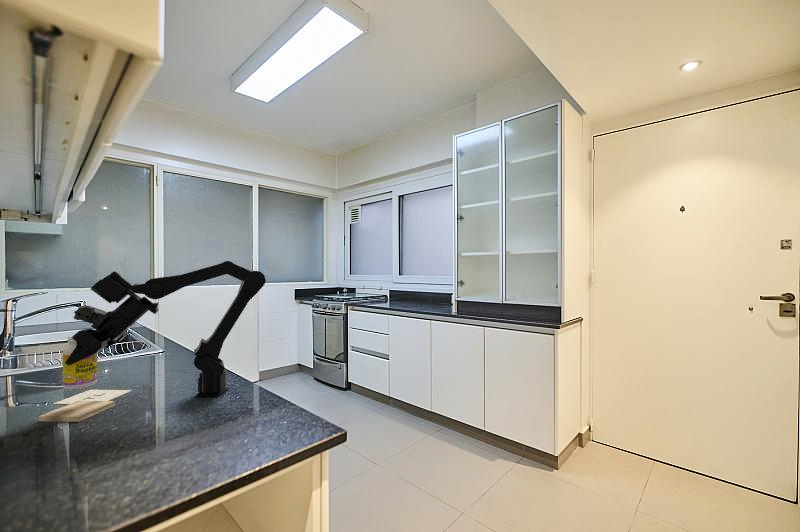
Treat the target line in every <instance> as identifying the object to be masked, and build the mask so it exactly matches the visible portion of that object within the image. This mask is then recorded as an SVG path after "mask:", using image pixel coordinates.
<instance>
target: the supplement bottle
mask: <svg viewBox="0 0 800 532" xmlns="http://www.w3.org/2000/svg"><path fill="white" fill-rule="evenodd" d="M74 335H75V334H72V335H69V336H68V337H67V342H68V346H66V347H64V349H63V350H62V387H63V388H64V389H66V390H78V389H84V388H87V387H90V386H93V385H95V384H96V383H98V371H99V370H98V360H99V359H98V353H99V352H98V353H96V354H94V355H91V356H89V357H87V358H85V359H82V360H80V361H78V362H76V363H73V364H71V365H67V364H65V362H66V360H67V359H68V358H69V356H70V355H71V353H72V352H73V350H74V349H75V347H76V346H77V343H76V341H75V340H74V339H73V338H72V336H74Z"/></svg>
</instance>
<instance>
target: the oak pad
mask: <svg viewBox="0 0 800 532" xmlns="http://www.w3.org/2000/svg"><path fill="white" fill-rule="evenodd" d="M115 404H116V403H115V401H114V400H110V401H77V402H74V403H71V404H65V405H63V406H62V407H58V408H57V409H54V410H51V411H49V412H47V413H44V414H42V415H39V416H38V422H55V423H56V422H57V423H58V422H59V423H60V422H61V423H62V422H65V423H69V422H71V423H72V422H73V423H74V422H76V423H77V422H79V423H80V422H82V421H84V420H86V419H89V418H91V417H93V416H96V415H97V414H100V413H101V412H103V411H106V410H108V409H110V408H112V407H115Z"/></svg>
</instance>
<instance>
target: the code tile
mask: <svg viewBox="0 0 800 532" xmlns="http://www.w3.org/2000/svg"><path fill="white" fill-rule="evenodd" d="M132 391H133V389H89V390H86V391H83V392H80V393H78V394H75V395H72V396H70V397H67V398H65V399H61V400H58V401H57V402H53V404H52V405H69V404H71V403H74V402H77V401H113V400H114V399H117V398H119V397H121V396H123V395H126V394H128V393H131V392H132Z"/></svg>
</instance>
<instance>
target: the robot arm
mask: <svg viewBox="0 0 800 532" xmlns="http://www.w3.org/2000/svg"><path fill="white" fill-rule="evenodd" d="M226 275H228V276H231V277H232V278H235V279H236V280H239V281H241V283H240V285H239V288H238V291H237V294H236V296H235V297H234V299H233V300H232V302H231V304H230V305H229V307H228V309H227V310H226V312H225V313H224V315H223V316H222V318H221V320H220V321H219V323H218V324H217V326H216V328H215V329H214V330H213V332H212V334H211V335H210V336H209V337H208V338H207V339H204V338H201V339H200V341H199V344H198V346H197V347H195V349H193V364H194V367H195V368H196V369H197V370H199V371H201V372H199V375H198V379H197V392H198V393H196V394H195V397H203V398H204V397H206V398H207V397H214V398H215V397H219V396H220V395H222V394H224V393H225V392H227V391H228V390H229V387H227V385H226V384H227V382H226V381H227V380H226V379H227V378H226V377H227V371H226V370H225V368H226V367H225V364H224V360H222V359H221V358H220V357H219V356H220V354H221V351H222V347H223V345H224V342H225V341H226V339H227V338H228V336H229V334H230V333H231V331H232V329H233V328H234V326H235V324H236V323H237V322H238V319H239V318H240V316H241V315H242V313H243V312H244V310H245V308H246V307H247V305H248V303H249V302H250V301H251V300H252V299H253V298H254V297H255V296H256V295H257V294H258V293H259V291H260V290H261V289H262V288H263V287H264V286H265V285H266V276H265V274H264V273H263V272H262V271H258V270H249V269H247V268H245V267H243V266H241V265H238V264H235V263H234V262H233V261H231V260H225V261H223V262H221V263H217V264H215V265H211V266H207V267H204V268H200V269H196V270H193V271H190V272H186V273H183V274H177V275H170V276H163V277H162V276H160V277H154V278H150V279H148V280H146V281H145V283H141V284H140V283H134V284H132V283H131V282H129V281H128V280H127V279H125V278H124V277H123V276H122V275H121V274H120V273H118V271H112V272H111V273H110V274H108V275H107V276H105V277H103V278H102V279H99V280H98V281H97V282H96V283H94V284H93V285H92V286H91V287H90V291H92V292H93V293H95V294H96V295H97V296H99V297H100V298H102V299H103V300H105V301H106V302H107V303H109V304H112V303H116V304H119V303H120V302H121V301H122V300H124V299H125V300H124V301H123V302H122V303H121V304H119V305H118V306H117V307H116V308H114V310H111V311H110V310H109V311H105V310H103V309H100V308H97V307H94V306H90V305H80V306H79V307H78V309H76V310H74V312H73V313H74V316H73V319H74V320H76V321H82V322H86V323H89V324H91V326H90V327H92V328H84V329H81V330H78V331H77V332H76V333H75V334H73V335H74V336H72V335H71V336H72V338H73V339H74V340H75V341H76V343H77V346H76V347H75V349H74V350H73V352H72V353H71V355H70V356H69V358H68V359H67V360H66V362H65V364H67V365H71V364H73V363H76V362H78V361H80V360H82V359H85V358H87V357H89V356H91V355H94V354H96V353H100V352H102V351H103V350H105V349H107V348H109V347H112V346H113V345H115V344H117V343H119V342H120V341H122V340H123V339H124V338H125V337H127V335H128V331H127V330H129V328H131V327H133V326H135V324H136V322H137V321H139V319H141V318H142V317H143V316H144V315H145V314H147V312H149V311H150V312H151V313H152V314H153V315H156V314H157V313H158V312H159V302H152V301H151V300H159V299H163V298H165V297H166V296H169V295H170V294H174V293H175V292H177V291H180V290H182V289H183V288H185V287H188V286H189V287H190V286H191V285H196V284H198V283H202V282H204V281H208V280H212V279H214V278H219V277H222V276H226ZM138 294H139V295H144V296H143V297H141V296H139V295H138ZM128 296H129V297H128ZM126 297H127V298H126ZM150 299H151V300H150Z"/></svg>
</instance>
